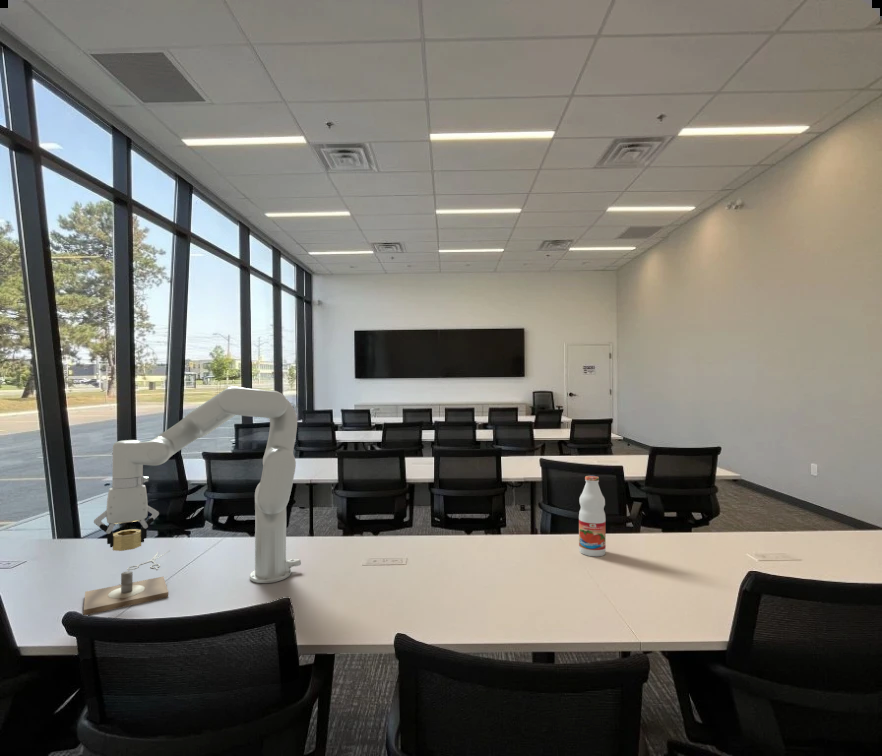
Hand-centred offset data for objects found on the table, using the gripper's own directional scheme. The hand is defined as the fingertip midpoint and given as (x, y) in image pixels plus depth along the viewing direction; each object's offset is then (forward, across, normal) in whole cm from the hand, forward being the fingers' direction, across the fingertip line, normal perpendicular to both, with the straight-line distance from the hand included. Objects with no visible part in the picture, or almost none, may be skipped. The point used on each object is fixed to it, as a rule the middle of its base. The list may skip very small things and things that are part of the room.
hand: (127, 543), depth 143 cm
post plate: (+16, 0, 0) cm, 16 cm away
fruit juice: (+16, -143, +53) cm, 153 cm away
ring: (+1, 0, 0) cm, 1 cm away
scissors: (+16, -9, -30) cm, 35 cm away
